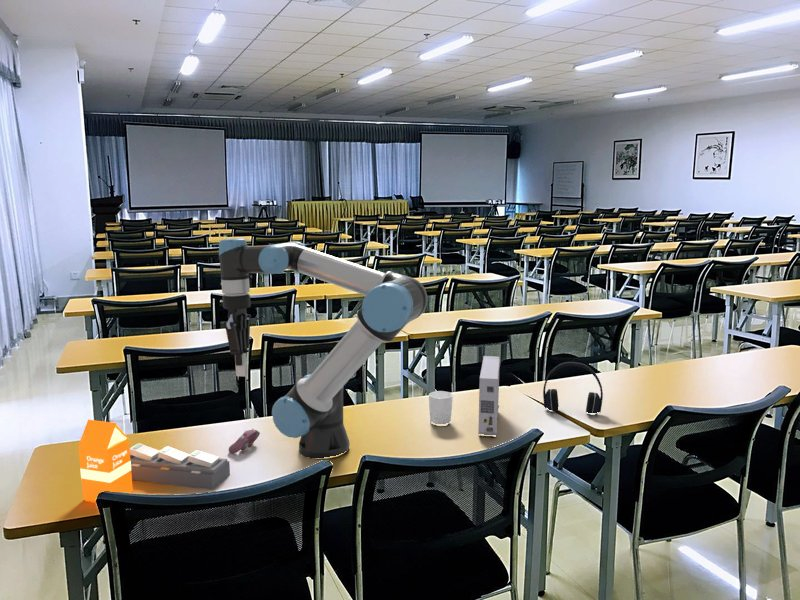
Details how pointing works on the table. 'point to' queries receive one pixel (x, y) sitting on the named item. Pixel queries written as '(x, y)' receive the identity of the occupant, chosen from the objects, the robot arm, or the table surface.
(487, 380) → the game console
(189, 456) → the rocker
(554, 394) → the headphones
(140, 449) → the rocker
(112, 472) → the orange juice
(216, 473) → the power strip
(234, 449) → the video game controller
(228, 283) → the robot arm
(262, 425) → the table surface
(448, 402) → the white cup
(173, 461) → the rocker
